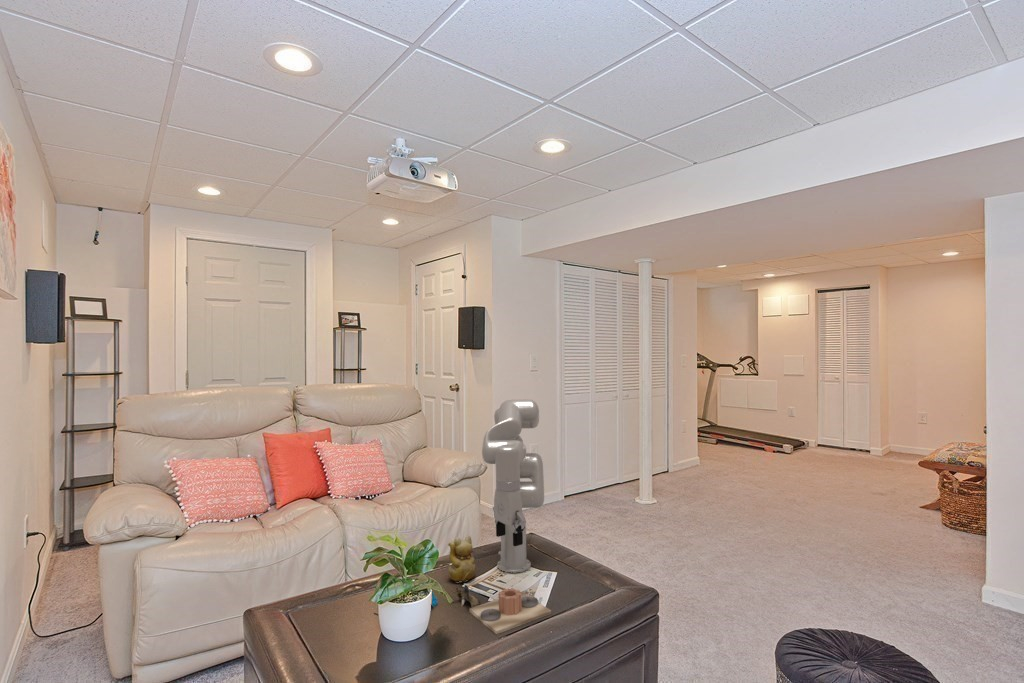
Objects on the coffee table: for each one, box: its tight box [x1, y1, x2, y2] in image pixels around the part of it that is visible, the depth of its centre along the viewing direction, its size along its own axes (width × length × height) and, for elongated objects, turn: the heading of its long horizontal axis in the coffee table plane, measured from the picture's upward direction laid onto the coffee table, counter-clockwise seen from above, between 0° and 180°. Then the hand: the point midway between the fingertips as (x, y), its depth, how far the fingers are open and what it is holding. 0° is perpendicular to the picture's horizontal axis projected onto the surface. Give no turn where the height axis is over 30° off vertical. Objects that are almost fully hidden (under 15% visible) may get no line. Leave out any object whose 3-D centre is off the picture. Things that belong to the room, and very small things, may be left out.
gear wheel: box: [498, 587, 522, 615], centre depth 163 cm, size 7×7×5 cm
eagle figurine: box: [450, 582, 482, 608], centre depth 169 cm, size 8×7×9 cm
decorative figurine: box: [447, 534, 476, 583], centre depth 187 cm, size 10×8×15 cm
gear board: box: [468, 590, 552, 635], centre depth 163 cm, size 16×20×5 cm
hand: (509, 540), depth 163 cm, fingers open, 9 cm apart
